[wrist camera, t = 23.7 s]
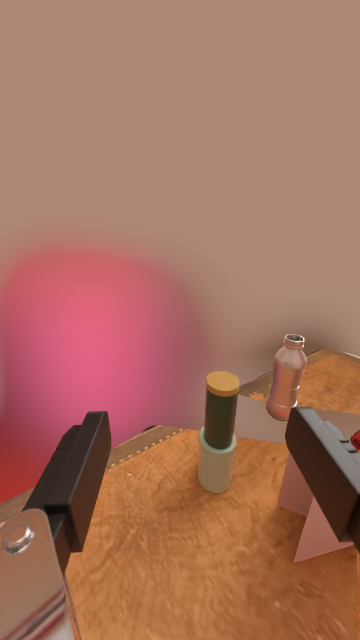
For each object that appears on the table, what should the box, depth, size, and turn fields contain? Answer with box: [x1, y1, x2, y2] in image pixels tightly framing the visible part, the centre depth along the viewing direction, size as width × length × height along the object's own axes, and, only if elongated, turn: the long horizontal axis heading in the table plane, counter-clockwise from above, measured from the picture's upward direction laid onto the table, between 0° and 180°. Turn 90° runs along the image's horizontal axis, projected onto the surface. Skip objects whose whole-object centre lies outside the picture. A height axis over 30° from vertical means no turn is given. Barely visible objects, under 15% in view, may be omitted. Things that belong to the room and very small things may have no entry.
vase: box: [197, 426, 237, 493], centre depth 39 cm, size 6×6×9 cm
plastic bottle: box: [266, 334, 307, 421], centre depth 50 cm, size 6×7×20 cm
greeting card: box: [277, 450, 360, 563], centre depth 29 cm, size 11×7×15 cm, turn 67°
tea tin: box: [204, 371, 240, 450], centre depth 35 cm, size 5×5×11 cm
